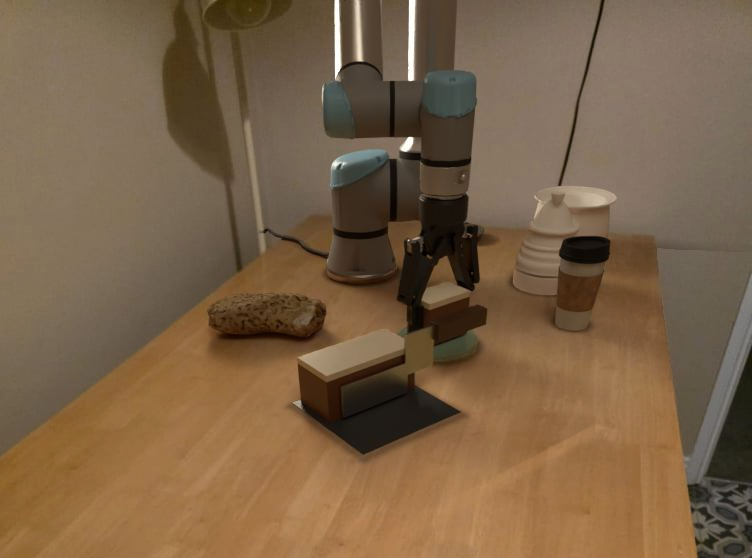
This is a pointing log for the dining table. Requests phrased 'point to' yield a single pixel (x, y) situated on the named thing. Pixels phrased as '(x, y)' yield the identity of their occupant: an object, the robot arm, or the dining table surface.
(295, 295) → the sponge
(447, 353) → the serving plate
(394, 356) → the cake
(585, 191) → the pot
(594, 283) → the coffee cup
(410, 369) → the square cleaver
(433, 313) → the cake slice
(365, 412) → the cake board
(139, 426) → the dining table surface
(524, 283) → the honey pot
